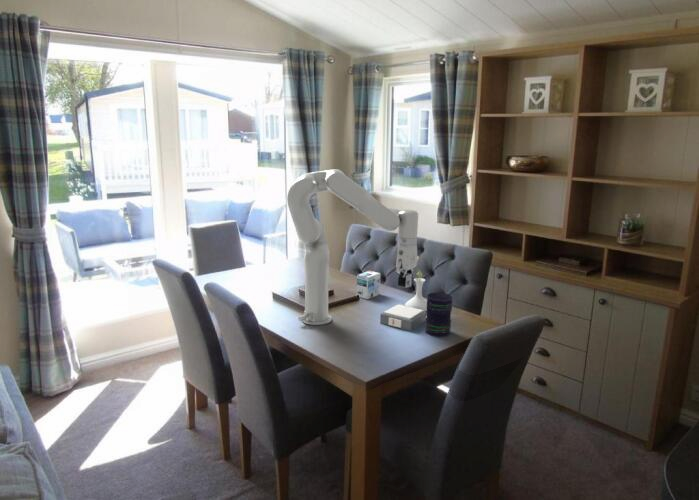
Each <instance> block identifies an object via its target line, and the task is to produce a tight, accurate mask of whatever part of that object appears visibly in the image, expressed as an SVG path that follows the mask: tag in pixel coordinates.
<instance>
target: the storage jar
mask: <svg viewBox="0 0 699 500" xmlns="http://www.w3.org/2000/svg"><path fill="white" fill-rule="evenodd" d="M426 300H427V311H426V321H425V322H424V323H425V330H424V331H425V334H427V335H428V336H431V337H434V338H435V337H436V338H444V337H448V336H449V335H450V333H451V326H452V325H451V324H452V320H451V316H452V310H453V296H452V295H451V294H449V293H444V292H430V293H428V294H427V299H426Z"/></svg>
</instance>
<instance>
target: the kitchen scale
mask: <svg viewBox="0 0 699 500" xmlns="http://www.w3.org/2000/svg"><path fill="white" fill-rule="evenodd" d="M379 317H380V318H379V319H380V321H379V322H380V324H382V325H384V326H385V325H387V326H390V327H394V328H397V329H402V330H404V331H405V330H406V331H409V332H411V331H413V330H414V329H416V328H417V327H419V326H420V325H421V324H424V323H426V318H427V311H423V310H421V309H416V308H412V307H408V306H405V305H402V304H396V305H394V306H392V307H391V308H389V309H387V310H385V311H383V312H381V313H380V316H379Z"/></svg>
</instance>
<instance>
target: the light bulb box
mask: <svg viewBox="0 0 699 500" xmlns="http://www.w3.org/2000/svg"><path fill="white" fill-rule="evenodd" d="M356 276H357V277H356V296H357V295H359V297H358V298H361V299H364V300H365V299H366V300H369V299H372V298H374V297H377V296H379V295H380V294H381V291H380V290H381V272H376V271H372V270H367V271H365V272H362V273H358V274H357V275H356Z"/></svg>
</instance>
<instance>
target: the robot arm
mask: <svg viewBox="0 0 699 500" xmlns="http://www.w3.org/2000/svg"><path fill="white" fill-rule="evenodd" d="M324 192H330V193H332V194H333V195H335V196H336V197H338V198H340V199H341V200H343V202H345V203H347V204H348V205H349V206H351V207H352V208H354V209H355V210H356V211H358V212H360V214H362V215H363V216H364V217H365V218H367V219H368V220H370V221H371V222H373V223H374V224H376V225H377V226H378V227H381V228H382V229H383V230H385V231H387V232H393V231H395V230H398V232H397V233H398V234H397V236H398V237H397V245H398V246H397V251H396V253H397V254H396V263H395V267H396V269H395V272H396V273H397V277H398V279H397V286H399V287H400V286H402V287H401V288H406V287H405V286H406V277H405V274H406V272H408V273H411V274H412V277H413V276H414V275H413V274H414V269H415V268H417V266H418V262H417V256H418V245H417V244H418V243H417V242H418V225H419V212H417V210H414V209H395V208H391V207H390V208H389V207H387V206H385V205H383V204H382V203H381V202H380V201H378V200H377V199H376V198H375V197H374V196H373V195H372V194H371V193H370V191H368V190H367V189H366V188H365V187H363V186H361V185H360V184H358V183H357V182H356V181H354V180H352V179H351V178H350V177H349V176H347V175H346V174H345V173H344V172H343V171H342V170H341V169H337V168H334V169H327V170H322V171H321V170H320V171H314V172H313V171H312V172H305V173H303V174H301V175H300V176H299V177H298V178H297V179H296V180H295V181H294V182H293V184H292V185H291V186H290V188H289V190H288V192H287V196H286V197H287V198H286V199H287V207H288V209H289V212H290V216H291V219H292V223H293V226H294V227H295V230H296V235H297V237H298V239H299V240H300V242H301V243H303V246H304V248H305V255H304V285H305V286H304V311H303V314H302V315H300V316H298V321H299V322H301V323H304V324H306V325H311V326H322V325H323V326H324V325H326V324H329V323H330V322H332V320H333V317H332V316H331V315H330V314H329V285H330V284H329V282H330V281H329V278H330V277H329V275H330V272H329V270H330V269H329V267H330V247H329V243H328V241H327V239H326V235H325V233H324V229H323V226H322V224H321V222H320V221H319V220H318V219H317V218H316V217H315V215H314V213H313V208H312V206H311V203H310V198H311V197H312V196H313V195H314V194H316V193H324ZM411 284H413V280H412V281H411Z"/></svg>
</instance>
